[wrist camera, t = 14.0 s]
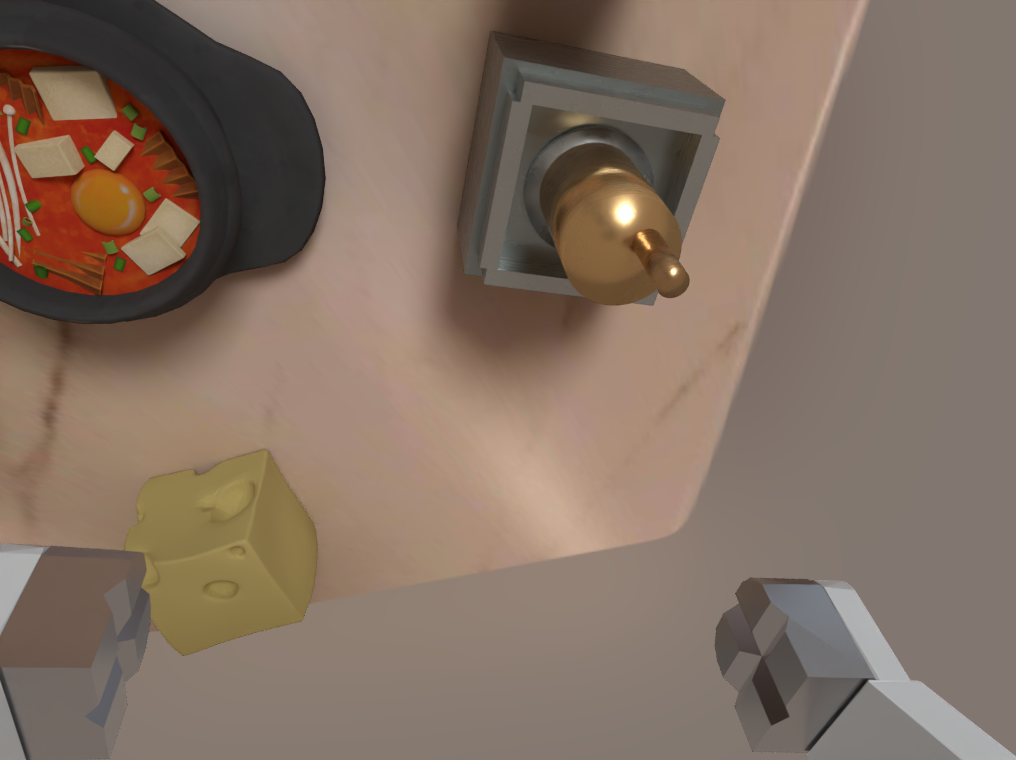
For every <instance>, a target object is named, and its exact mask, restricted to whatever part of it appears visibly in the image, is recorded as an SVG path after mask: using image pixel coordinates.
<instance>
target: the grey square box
mask: <svg viewBox="0 0 1016 760" xmlns="http://www.w3.org/2000/svg"><path fill="white" fill-rule="evenodd" d="M724 103H725V99H724V98H722V97H721V96H719V95H718V94H717V93H715V92H714V91H713V90H711V89H710V88H709V87H707V86H706V85H705V84H703V83H702V82H701V81H699V80H698V79H697V78H695V77H694V76H693V75H691V74H690V73H688V72H687V71H686V70H684V69H680V68H674V67H669V66H664V65H659V64H654V63H649V62H644V61H639V60H634V59H629V58H624V57H619V56H614V55H609V54H604V53H599V52H594V51H589V50H584V49H579V48H574V47H569V46H564V45H559V44H554V43H549V42H544V41H539V40H534V39H529V38H524V37H519V36H514V35H509V34H504V33H499V32H494V31H490V37H489V43H488V49H487V55H486V60H485V66H484V72H483V78H482V84H481V90H480V96H479V102H478V107H477V113H476V119H475V125H474V131H473V137H472V143H471V149H470V155H469V160H468V166H467V172H466V178H465V184H464V190H463V196H462V202H461V208H460V213H459V219H458V225H457V226H458V233H459V240H460V247H461V254H462V261H463V269H464V274H467V275H475V276H482V277H483V283H484V285H492V286H500V287H508V288H516V289H524V290H532V291H539V292H547V293H555V294H563V295H571V296H579V297H584V296H582V295H581V294H580V293H579V292H578V291H577V290H576V289H575V288H574V287H573V286H572V284H571V283H570V281H569V279H568V277H567V275H566V272H565V270H564V267H563V264H562V262H561V259H560V257H559V254H558V252H557V249H556V247H555V244H554V242H553V239H552V236H551V234H550V231H549V229H548V226H547V224H546V221H545V219H544V216H543V214H542V210H541V207H540V198H539V194H540V187H541V183H542V180H543V177H544V175H545V173H546V171H547V169H548V168H549V167H550V165H551V164H552V163H553V162H554V160H555V159H556V158H558V157H559V156H560V155H561V154H562V153H564V152H565V151H567V150H569V149H571V148H572V147H575V146H578V145H580V144H585V143H592V142H597V143H605V144H609V145H612V146H614V147H616V148H618V149H620V150H621V151H623V152H624V153H625V154H626V155H627V156H628V157H629V158H630V159H631V160H632V162H633V163H634V164H635V166H636V167H637V168H638V170H639V171H640V172H641V173H642V175H643V176H644V177H645V179H646V180H647V181H648V183H649V184H650V185H651V187H652V188H653V189H654V191H655V192H656V193H657V194H658V196H659V197H660V198H661V200H662V201H663V202H664V204H665V205H666V206H667V208H668V209H669V210H670V211H671V213H672V214H673V215H674V217H675V219H676V220H677V222H678V225H679V228H680V231H681V236H682V243H683V240H684V237H685V235H686V232H687V229H688V226H689V223H690V221H691V218H692V215H693V212H694V210H695V207H696V204H697V201H698V198H699V196H700V193H701V190H702V187H703V184H704V182H705V179H706V176H707V173H708V171H709V168H710V165H711V162H712V159H713V157H714V154H715V151H716V148H717V146H718V143H719V140H720V138H719V137H718V136H717V135H716V134H714V133H715V130H716V127H717V124H718V121H719V119H720V114H721V112H722V109H723V106H724ZM657 294H658V291H657V290H656V291H655V292H654V293H652V294H650V295H649V296H647V297H645V298H643V299H641V300H639V301H636V302H633V303H635V304H643V305H651V306H653V305H654V302H655V300H656V297H657Z"/></svg>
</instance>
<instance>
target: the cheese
mask: <svg viewBox="0 0 1016 760" xmlns="http://www.w3.org/2000/svg"><path fill="white" fill-rule="evenodd" d="M136 509H137V513H138V521H139V522H138V524H136V525H134V526H132V527H131V528H130V529H129V531H128V534H127V537H126V540H125V545H124V551H135V552H142V553H144V556H145V562H146V568H147V572H146V575H145V578H144V580H143V583H142V586H141V587H142V588H143V589H144V590H145V591H146V592H148V593H149V594H150V603H151V617H150V618H151V620H152V621H153V622H154V624H155V625H156V627H157V628H158V630H159V631H160V632H161V634H162V635H163V637H164V638H165V639H166V641H167V642H168V643H169V644H170V645H171V646H172V647H173V648H174V649H175V650H176V651H178V652H179V653H180V654H181V655H183V656H184V655H189V654H192V653H195V652H198V651H200V650H203V649H206V648H209V647H211V646H214V645H217V644H220V643H222V642H226V641H229V640H232V639H235V638H239V637H242V636H246V635H249V634H253V633H256V632H259V631H264V630H268V629H272V628H275V627H279V626H284V625H288V624H292V623H297V622H301V621H302V620H303V618H304V616H305V613H306V610H307V607H308V604H309V602H310V599H311V596H312V592H313V588H314V582H315V575H316V566H317V552H318V548H317V537H316V529H315V526H314V524H313V523H312V521H311V519H310V517H309V516H308V514H307V512H306V511H305V509H304V508H303V506H302V505H301V503H300V502H299V500H298V499H297V497H296V496H295V495H294V493H293V492H292V490H291V489H290V487H289V486H288V484H287V482H286V481H285V479H284V477H283V476H282V474H281V472H280V471H279V469H278V467H277V465H276V464H275V462H274V460H273V458H272V457H271V455H270V453H269V451H268V450H261V451H257V452H254V453H250V454H247V455H243V456H240V457H236V458H233V459H229V460H226V461H223V462H220V463H219V464H217V465H216V466H215V467H213V468H212V469H211V470H209V471H208V472H206V473H204V474H201V475H198V474H197V473H196V472H195V471H194V470H186V471H181V472H176V473H172V474H168V475H162V476H157V477H153V478H150V479H149V480H148V481H147V482H146V483H145V485H144V486H143V487H142V489H141V491H140V493H139V495H138V498H137V503H136Z"/></svg>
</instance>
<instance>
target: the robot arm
mask: <svg viewBox="0 0 1016 760" xmlns="http://www.w3.org/2000/svg"><path fill="white" fill-rule="evenodd" d="M146 572H147V568H146V562H145V556H144V553H142V552H135V551H120V550H105V549H91V548H76V547H61V546H42V545H24V544H6V543H3V544H2V545H1V546H0V760H100V759H110V756H111V753H112V750H113V747H114V744H115V741H116V738H117V735H118V732H119V729H120V726H121V723H122V720H123V717H124V714H125V711H126V708H127V697H126V690H125V684H124V683H125V682H126V681H127V680H128V679H129V678H131V677H132V676H133V675H134V674H135V673H136V672H137V671H138V670H139V668H140V665H141V662H142V658H143V655H144V652H145V648H146V644H147V638H148V633H149V628H150V617H151V603H150V594H149V593H148V592H146V591H145V590H144V589H143V588H142V587H141V586H142V583H143V580H144V578H145V575H146ZM735 594H736V597H737V600H738V602H739V604H737V605H736V606H734V607H733V608H731V609H729V610H728V611H726V612H725V613H724V614H723V615H722V618H721V620H720V621H719V623H718V625H717V627H716V636H715V651H716V657H717V662H718V664H719V667H720V670H721V673H722V675H723V678H724V679H725V680H726V681H728V682H729V683H730V684H731V685H732V686H733V687H734V688H735V689H736V690H737V691H738V696H737V699H736V703H735V709H736V711H737V714H738V717H739V719H740V722H741V724H742V727H743V729H744V732H745V734H746V737H747V740H748V742H749V745H750V747H751V749H752V752H795V753H808V754H807V755H806V757H807V758H808V759H809V760H1016V756H1014V755H1013V754H1012V753H1011V752H1009V751H1008V750H1007V749H1005V748H1004V747H1003V746H1002V745H1000V744H999V743H998V742H997V741H995V740H994V739H993V738H992V737H990V736H989V735H988V734H986V733H985V732H984V731H983V730H981V729H980V728H979V727H978V726H976V725H975V724H974V723H973V722H971V721H970V720H969V719H967V718H966V717H965V716H964V715H962V714H961V713H960V712H959V711H957V710H956V709H955V708H954V707H952V706H951V705H950V704H948V703H947V702H946V701H944V700H943V699H942V698H941V697H940V696H938V695H937V694H936V693H934V692H933V691H932V690H931V689H929V688H928V687H927V686H925V685H924V684H923V683H922V682H920V681H914V680H910V679H909V677H908V676H907V674H906V673H905V671H904V669H903V668H902V666H901V664H900V663H899V661H898V660H897V658H896V656H895V655H894V653H893V651H892V650H891V648H890V647H889V645H888V643H887V642H886V640H885V638H884V637H883V635H882V634H881V632H880V631H879V629H878V627H877V626H876V624H875V622H874V621H873V619H872V617H871V616H870V614H869V613H868V611H867V609H866V608H865V606H864V604H863V603H862V601H861V600H860V598H859V596H858V595H857V593H856V591H855V590H854V589H853V588H852V587H851V586H850V585H849V584H847V583H846V582H844V581H824V580H808V579H784V578H749V579H747V580H745V581H743V582H742V583H741V585H740V587H739V588H738V590H737V592H736V593H735Z"/></svg>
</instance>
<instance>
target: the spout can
mask: <svg viewBox="0 0 1016 760" xmlns="http://www.w3.org/2000/svg"><path fill="white" fill-rule="evenodd" d="M539 198H540V207H541V210H542V214H543V216H544V219H545V221H546V224H547V226H548V229H549V231H550V234H551V236H552V239H553V242H554V244H555V247H556V249H557V252H558V254H559V257H560V259H561V262H562V264H563V267H564V270H565V272H566V275H567V277H568V279H569V281H570V283H571V284H572V286H573V287H574V288H575V289H576V290H577V291H578V292H579V293H580V294H581V295H582V296H584V297H585V298H587V299H589V300H591V301H593V302H596V303H599V304H604V305H625V304H629V303H633V302H636V301H639V300H641V299H643V298H645V297H647V296H649V295H650V294H652V293H654V292H655V291H656V290H657V291H658V292H659V294H660V295H662V296H663V297H666V298H674V297H677V296H679V295H681V294H682V293H684V292H685V290H686V289H687V288H688V285H689V275H688V274H687V272H686V271H685V269H684V268H683V266H682V265H681V263H680V262H679V261H678V260H679V258H680V253H681V247H682V236H681V231H680V228H679V225H678V222H677V220H676V219H675V217H674V215H673V214H672V213H671V211H670V210H669V209H668V208H667V206H666V205H665V204H664V202H663V201H662V200H661V198H660V197H659V196H658V194H657V193H656V192H655V191H654V189H653V188H652V187H651V185H650V184H649V183H648V181H647V180H646V179H645V177H644V176H643V175H642V173H641V172H640V171H639V170H638V168H637V167H636V166H635V164H634V163H633V162H632V160H631V159H630V158H629V157H628V156H627V155H626V154H625V153H624V152H623V151H621V150H620V149H618V148H616V147H614V146H612V145H609V144H605V143H597V142H592V143H585V144H580V145H578V146H575V147H572V148H571V149H569V150H567V151H565V152H564V153H562V154H561V155H560V156H559V157H558V158H556V159H555V160H554V162H553V163H552V164H551V165H550V167H549V168H548V169H547V171H546V173H545V175H544V177H543V180H542V183H541V187H540V194H539Z"/></svg>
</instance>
